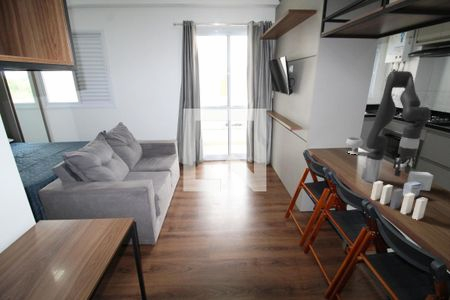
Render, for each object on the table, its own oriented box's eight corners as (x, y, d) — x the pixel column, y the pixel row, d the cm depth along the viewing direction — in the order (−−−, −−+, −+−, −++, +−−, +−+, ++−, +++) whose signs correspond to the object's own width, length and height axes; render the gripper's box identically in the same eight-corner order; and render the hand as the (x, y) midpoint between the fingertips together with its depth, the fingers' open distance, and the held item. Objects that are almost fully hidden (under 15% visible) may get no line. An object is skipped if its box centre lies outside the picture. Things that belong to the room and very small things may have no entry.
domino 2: (379, 202, 128) (383, 186, 125) (385, 200, 130) (388, 184, 127) (383, 204, 126) (387, 187, 123) (389, 202, 128) (392, 185, 125)
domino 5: (411, 217, 113) (416, 199, 110) (417, 215, 115) (422, 197, 112) (416, 220, 111) (421, 201, 108) (422, 217, 113) (427, 199, 110)
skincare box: (424, 186, 145) (428, 172, 142) (430, 191, 140) (434, 176, 136) (406, 185, 148) (409, 170, 145) (410, 189, 142) (414, 174, 139)
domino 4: (400, 212, 118) (404, 194, 115) (406, 210, 120) (410, 192, 117) (404, 214, 116) (409, 196, 113) (410, 212, 118) (415, 194, 115)
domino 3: (389, 207, 123) (393, 190, 120) (395, 205, 125) (399, 188, 122) (393, 209, 121) (397, 191, 118) (399, 207, 123) (403, 189, 120)
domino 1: (370, 198, 133) (373, 182, 130) (376, 196, 135) (379, 180, 131) (374, 200, 131) (377, 183, 128) (379, 198, 133) (383, 182, 129)
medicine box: (409, 198, 132) (412, 185, 129) (401, 195, 136) (404, 182, 133) (418, 196, 134) (421, 183, 131) (410, 193, 138) (413, 180, 135)
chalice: (364, 154, 210) (367, 139, 206) (352, 156, 207) (355, 141, 203) (352, 150, 223) (355, 136, 219) (341, 152, 220) (343, 137, 215)
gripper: (408, 142, 118) (402, 169, 123) (392, 145, 113) (386, 174, 118) (425, 145, 111) (417, 174, 116) (408, 149, 106) (401, 179, 111)
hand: (401, 174), depth 117 cm, fingers open, 8 cm apart
